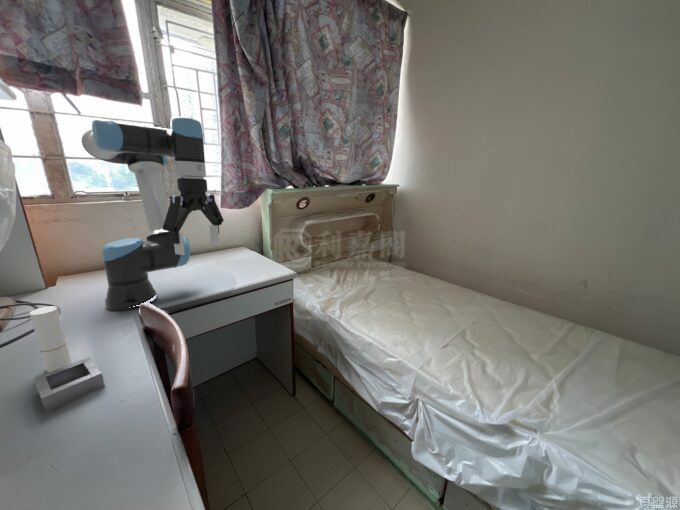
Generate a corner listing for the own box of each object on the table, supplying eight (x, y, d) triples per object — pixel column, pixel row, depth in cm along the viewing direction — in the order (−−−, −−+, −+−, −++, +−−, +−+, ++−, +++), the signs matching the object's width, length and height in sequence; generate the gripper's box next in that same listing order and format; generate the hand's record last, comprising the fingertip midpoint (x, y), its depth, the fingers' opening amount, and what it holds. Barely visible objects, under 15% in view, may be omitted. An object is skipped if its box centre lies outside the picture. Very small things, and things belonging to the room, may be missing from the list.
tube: (76, 360, 67) (62, 306, 63) (59, 372, 63) (43, 314, 59) (58, 360, 67) (43, 306, 63) (40, 372, 63) (23, 314, 59)
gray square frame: (37, 391, 57) (33, 377, 56) (92, 369, 64) (89, 357, 63) (46, 413, 52) (41, 398, 51) (104, 386, 59) (101, 373, 58)
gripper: (161, 177, 64) (172, 261, 70) (232, 179, 87) (236, 242, 93) (138, 175, 66) (151, 257, 72) (213, 178, 89) (218, 240, 95)
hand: (199, 249), depth 82 cm, fingers open, 13 cm apart
